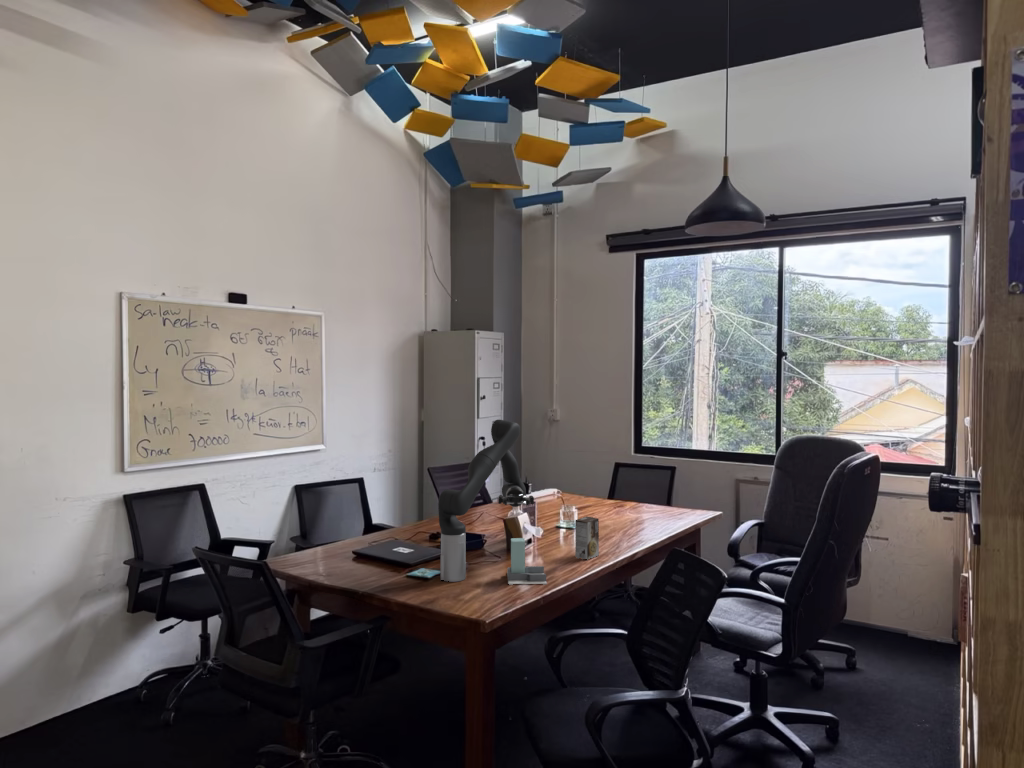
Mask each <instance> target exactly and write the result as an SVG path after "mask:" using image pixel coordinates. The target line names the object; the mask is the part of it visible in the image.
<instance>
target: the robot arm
mask: <svg viewBox="0 0 1024 768" xmlns="http://www.w3.org/2000/svg"><path fill="white" fill-rule="evenodd" d="M520 433H521V426H520V424H519V423H517V422H515V421H510V420H505V419H496V420H494V421H493V423H492V425H491V429H490V434H491V439H492V441H493V444H490V445H489V446H487V447H485V448H483V449H482V450H480V451H478V452H477V453H476V455H475V456H474V457H473V458H472V460H471V461H470V463H469V465H468V467H467V475H468V476H467V477H468V481H467V482H466V484H465V485H464V487H463V488H462V489H460V490H458V489H457V490H456V489H444V490H442V491H441V493H440V494H439V497H438V503H437V504H438V505H437V506H438V511H437V512H438V524H439V525H438V526H439V527H440V581H441V580H444V581H443V582H448V581H449V582H451V583H453V582H462V581H464V580H466V568H467V567H466V561H467V560H466V557H467V556H466V555H467V554H466V552H467V551H466V544H467V541H466V540H467V539H466V536H467V535H466V532H467V531H466V525H465V524H464V523H463V522H461V521H460V519H458V517H460V516H464V515H465V514H467V513H468V512H469V510H470V509H471V507H472V505H473V504H474V501H475V499H476V497H477V496H478V494H479V492H480V490H481V489H482V487H483V485H484V484H485V482H486V481H487V480H488V479H489V477H490V476H491V474H492V473H493V472H494V470H495V468H496V467H497V466H498V464H499V463H500V465H501V469H502V476H503V480H504V482H506V483H505V484H503V485H502V487H501V494H500V495H498V499H497V500H498V501H497V502H498V504H500V505H501V504H504V506H507V505H509V506H511V507H513V508H517V507H520V506H522V505H526V506H529V505H534V504H535V496H533V495H529V496H527V495H526V494H527V489H526V486H525V484H524V482H523V481H522V479H521V476H520V471H519V470H520V469H519V464H518V461H517V459H516V457H515V456H514V454H513V452H511V451H510V450H511V448H512V447H513V446H514V444H515V443H516V442H517V440H518V439H519V437H520Z"/></svg>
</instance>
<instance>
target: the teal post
mask: <svg viewBox="0 0 1024 768" xmlns="http://www.w3.org/2000/svg"><path fill="white" fill-rule="evenodd" d="M525 566H526V541H525V538H524V537H516V538H514V537H513V538H510V567H511V573H525Z"/></svg>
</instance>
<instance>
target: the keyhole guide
mask: <svg viewBox="0 0 1024 768" xmlns="http://www.w3.org/2000/svg"><path fill="white" fill-rule="evenodd" d="M506 571H507V572H506V574H507V575H506V576H507V584H509V585H508V586H514V585H513V584H543V585H548V582H547V573H545V566H544V565H540V566H539V565H536V566H535V565H534V566H533V565H532V566H531V565H529V566H526V565H525V573H511V566H510V567H509V566H508V567H507V568H506Z"/></svg>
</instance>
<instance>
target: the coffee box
mask: <svg viewBox="0 0 1024 768" xmlns="http://www.w3.org/2000/svg"><path fill="white" fill-rule="evenodd" d="M574 522H575V526H574V527H575V529H574V530H575V543H574V544H575V545H574V546H575V549H574V550H575V553H574V554H575V555H574V556H575V557H577V558H576V559H579V558H582V559H581V560H583V559H587V560H586V561H589V560H588V559H590V558H592V559H594V558H597V557H599V556H600V548H599V547H600V542H599V541H600V539H599V538H600V535H599V534H600V532H599V531H600V529H599V527H600V526H599V522H600V519H599V518H597V517H593V516H584V517H581V518H578V519H575V521H574ZM598 555H599V556H598ZM596 556H597V557H596ZM575 557H574V558H575ZM593 557H594V558H593ZM590 560H591V559H590Z"/></svg>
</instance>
